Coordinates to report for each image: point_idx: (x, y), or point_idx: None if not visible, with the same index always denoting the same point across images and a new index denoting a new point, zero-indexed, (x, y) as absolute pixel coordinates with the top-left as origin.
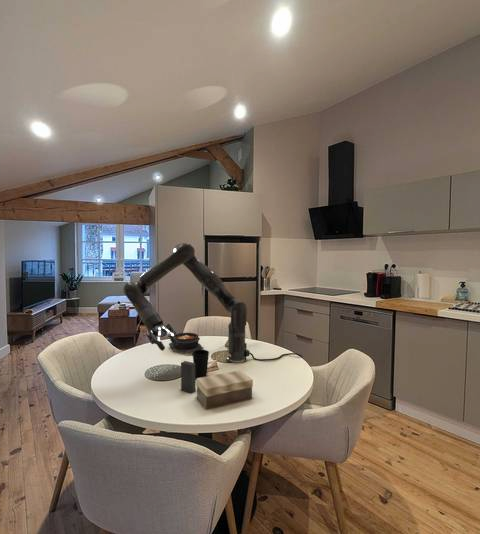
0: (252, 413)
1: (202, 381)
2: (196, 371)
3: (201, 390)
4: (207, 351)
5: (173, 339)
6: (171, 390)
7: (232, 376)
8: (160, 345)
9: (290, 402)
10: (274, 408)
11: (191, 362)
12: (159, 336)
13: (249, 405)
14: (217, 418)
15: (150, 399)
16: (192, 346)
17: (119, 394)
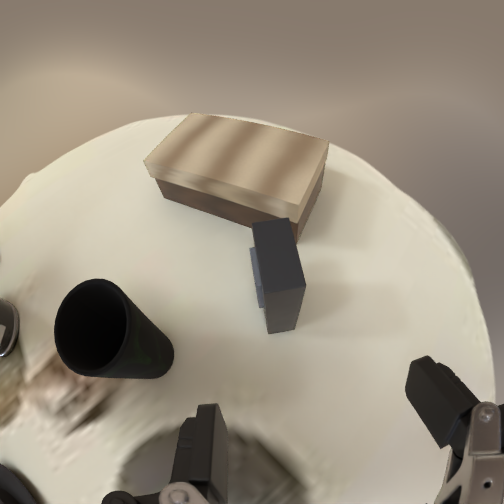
0: None
1: (302, 175)
2: (163, 349)
3: (314, 186)
4: (65, 303)
5: (217, 459)
6: (321, 356)
7: (201, 144)
8: (458, 380)
9: (176, 115)
10: None
11: (258, 244)
12: (482, 454)
13: None
14: (328, 153)
15: (413, 348)
16: (8, 498)
17: None
